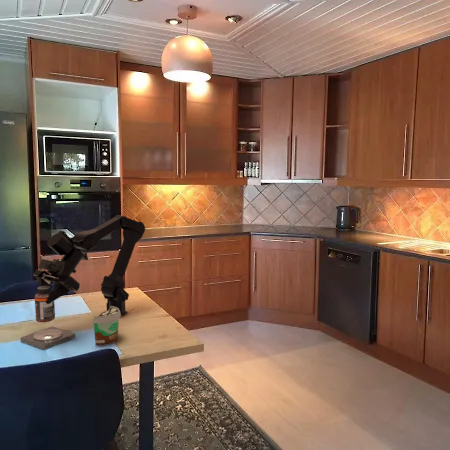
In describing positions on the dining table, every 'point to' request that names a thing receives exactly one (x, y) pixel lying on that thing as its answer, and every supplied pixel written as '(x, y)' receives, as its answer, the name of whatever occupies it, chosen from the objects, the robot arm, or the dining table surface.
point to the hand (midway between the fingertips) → (41, 301)
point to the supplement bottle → (44, 305)
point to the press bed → (47, 338)
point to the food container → (106, 326)
